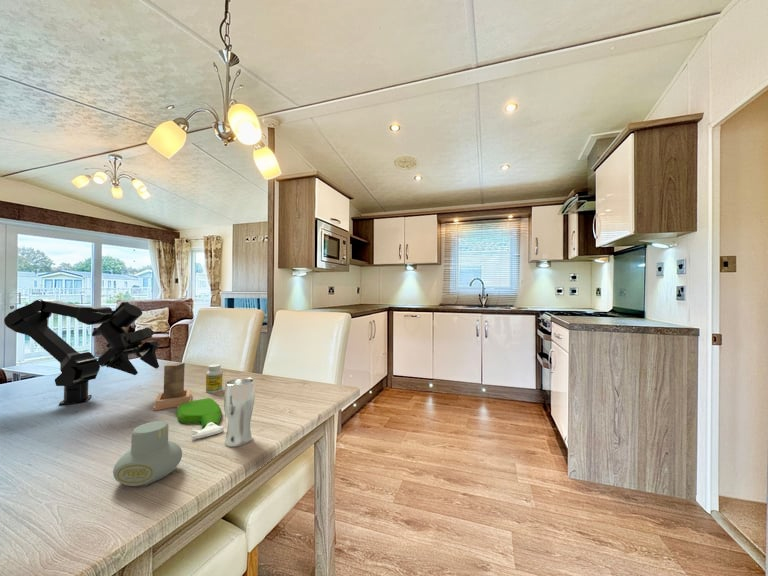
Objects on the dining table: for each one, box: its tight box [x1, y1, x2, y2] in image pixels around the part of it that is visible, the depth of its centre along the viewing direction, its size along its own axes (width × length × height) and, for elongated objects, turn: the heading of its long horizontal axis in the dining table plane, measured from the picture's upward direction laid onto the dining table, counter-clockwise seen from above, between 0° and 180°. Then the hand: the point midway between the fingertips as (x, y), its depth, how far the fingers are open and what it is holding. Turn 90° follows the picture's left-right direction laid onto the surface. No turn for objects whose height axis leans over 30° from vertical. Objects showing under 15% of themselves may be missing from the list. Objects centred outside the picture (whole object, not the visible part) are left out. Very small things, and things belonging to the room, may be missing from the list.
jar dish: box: [152, 388, 193, 411], centre depth 100 cm, size 10×10×2 cm
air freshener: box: [112, 420, 183, 487], centre depth 60 cm, size 11×8×10 cm
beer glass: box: [223, 377, 256, 448], centre depth 75 cm, size 7×7×15 cm
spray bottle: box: [176, 397, 225, 441], centre depth 86 cm, size 3×11×24 cm
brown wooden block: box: [163, 362, 186, 400], centre depth 100 cm, size 4×4×12 cm
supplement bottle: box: [205, 363, 223, 394], centre depth 112 cm, size 5×5×10 cm
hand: (147, 370), depth 100 cm, fingers open, 9 cm apart
